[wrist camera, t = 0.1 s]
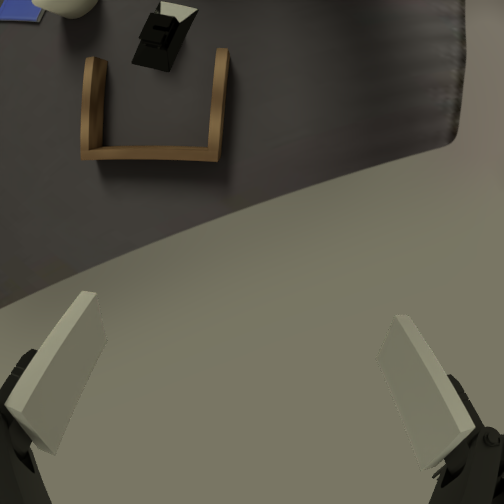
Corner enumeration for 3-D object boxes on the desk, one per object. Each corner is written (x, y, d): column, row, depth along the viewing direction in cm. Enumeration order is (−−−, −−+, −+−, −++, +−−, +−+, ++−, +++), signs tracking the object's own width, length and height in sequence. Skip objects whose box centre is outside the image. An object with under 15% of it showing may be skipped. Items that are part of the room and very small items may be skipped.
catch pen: (99, 62, 30) (85, 58, 26) (229, 55, 31) (227, 48, 27) (95, 155, 35) (80, 160, 32) (220, 157, 36) (217, 161, 32)
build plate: (171, 85, 32) (161, 81, 28) (122, 72, 31) (107, 68, 27) (209, 3, 28) (204, -10, 23) (159, -7, 26) (149, -19, 22)
